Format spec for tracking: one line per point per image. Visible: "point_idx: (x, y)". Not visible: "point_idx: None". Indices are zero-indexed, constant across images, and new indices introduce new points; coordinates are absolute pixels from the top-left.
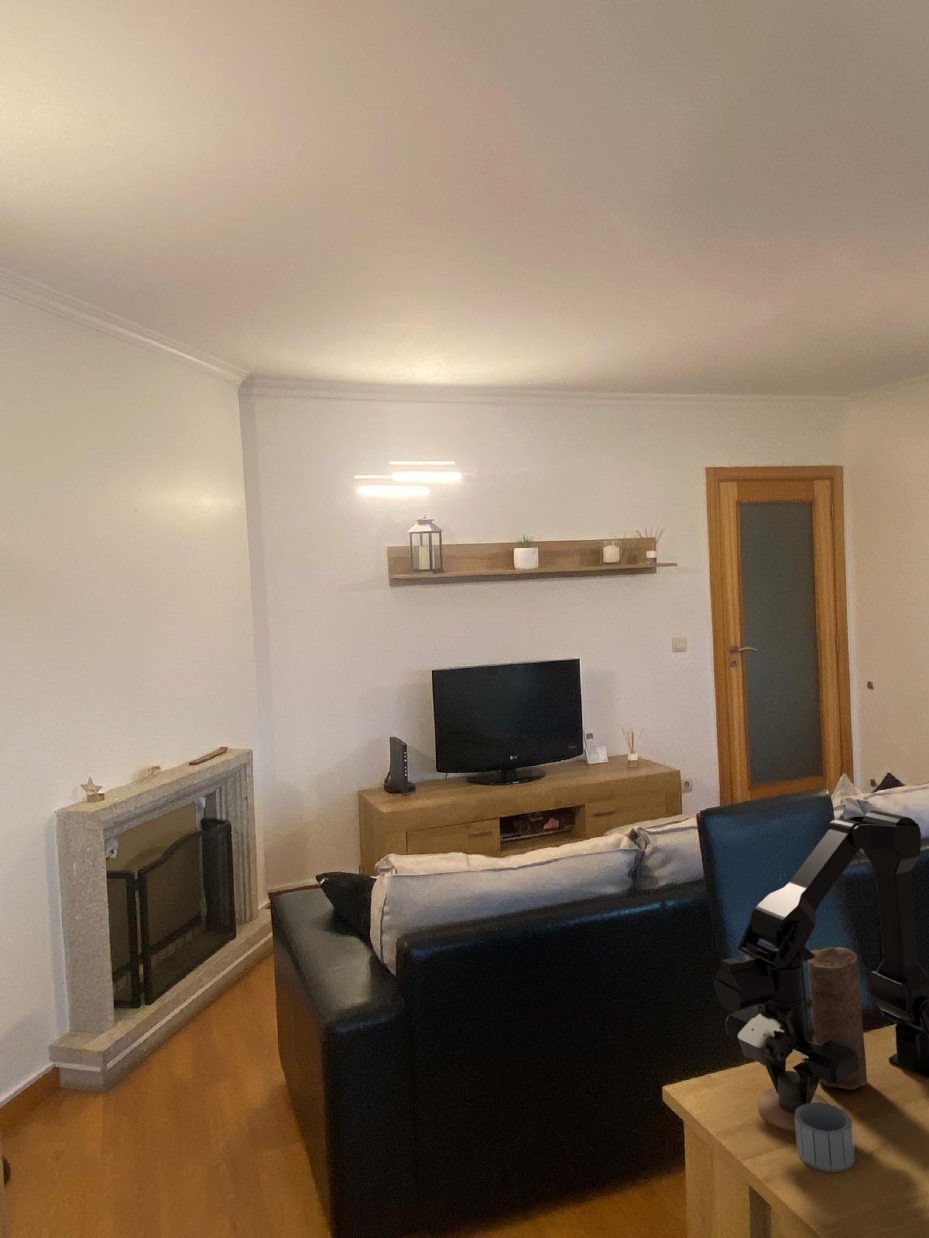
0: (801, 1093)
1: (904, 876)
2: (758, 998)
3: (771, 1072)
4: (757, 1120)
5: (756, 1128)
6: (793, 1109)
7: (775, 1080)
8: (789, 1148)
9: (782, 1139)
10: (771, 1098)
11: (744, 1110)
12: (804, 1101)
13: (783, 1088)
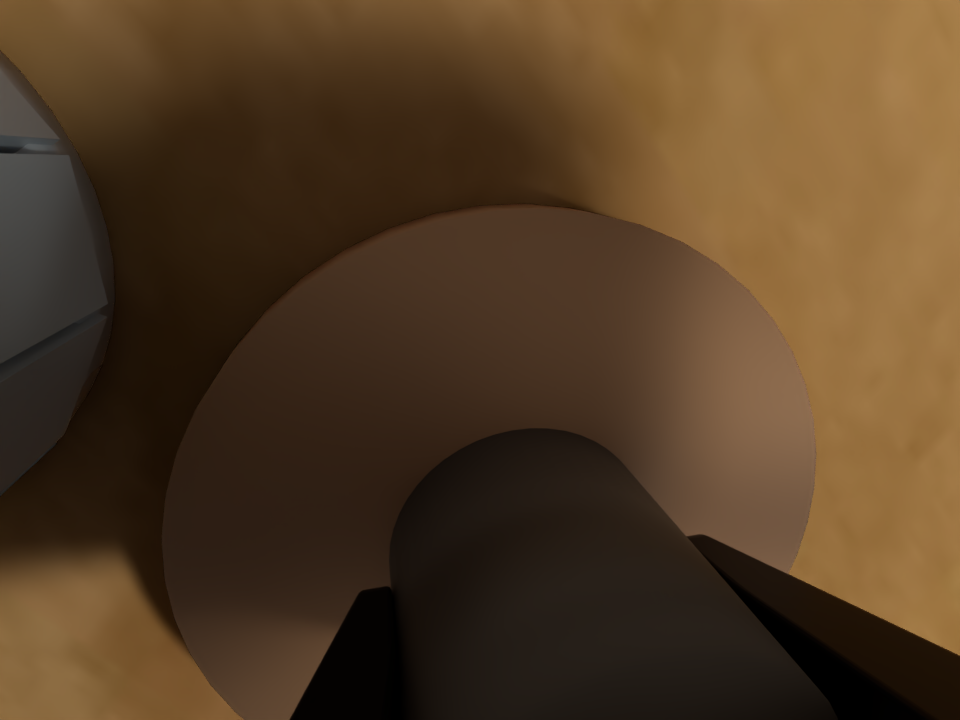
0: (371, 710)
1: None
2: None
3: (937, 692)
4: (642, 158)
5: (570, 30)
6: (443, 484)
7: (800, 626)
8: (92, 6)
9: (272, 92)
10: (717, 467)
11: (806, 188)
12: (349, 637)
13: (611, 588)
